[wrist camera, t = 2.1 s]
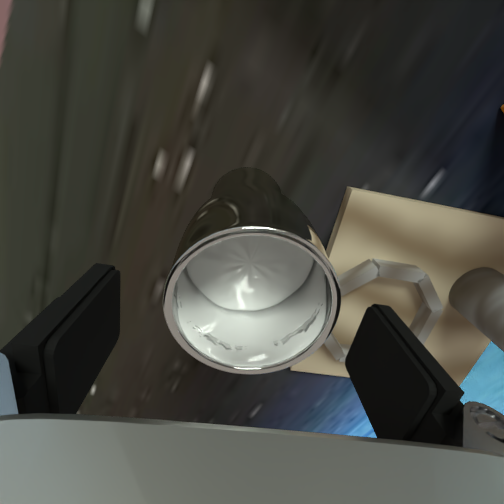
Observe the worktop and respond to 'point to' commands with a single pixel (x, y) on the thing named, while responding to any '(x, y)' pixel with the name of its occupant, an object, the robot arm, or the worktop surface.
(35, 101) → the worktop surface
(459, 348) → the carrier board
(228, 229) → the beer glass
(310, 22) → the worktop surface
